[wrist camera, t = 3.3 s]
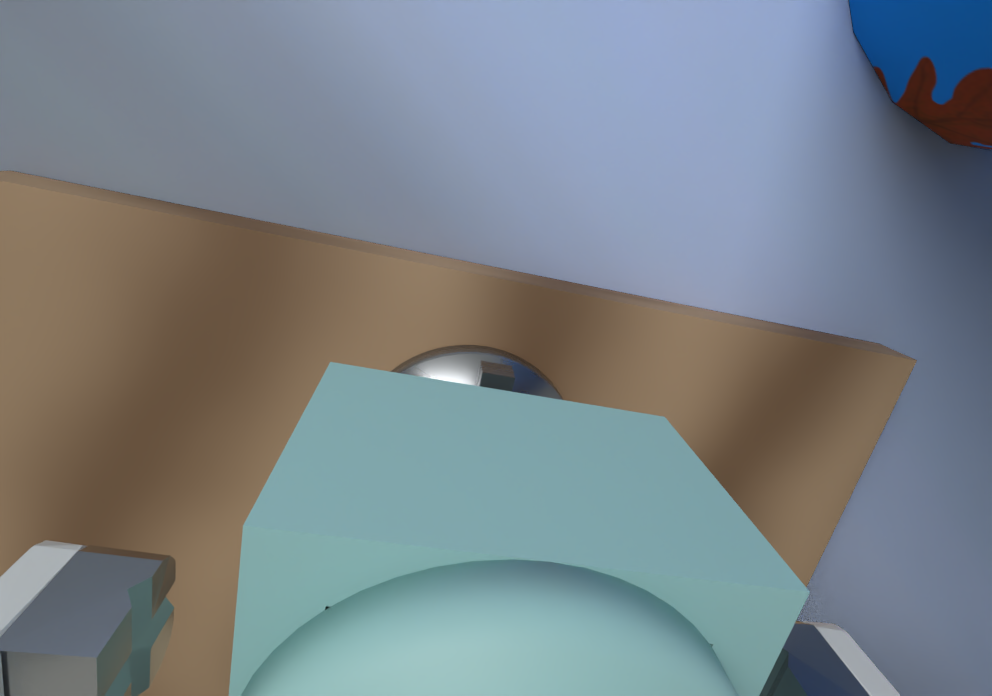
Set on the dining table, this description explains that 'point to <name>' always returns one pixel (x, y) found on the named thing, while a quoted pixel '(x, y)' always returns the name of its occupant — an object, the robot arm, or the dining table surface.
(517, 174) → the dining table surface
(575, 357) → the board
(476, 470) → the rotary switch
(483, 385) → the metal door knob
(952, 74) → the thermos
